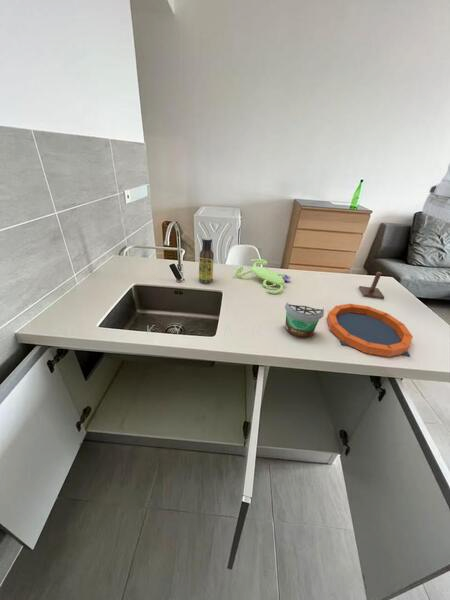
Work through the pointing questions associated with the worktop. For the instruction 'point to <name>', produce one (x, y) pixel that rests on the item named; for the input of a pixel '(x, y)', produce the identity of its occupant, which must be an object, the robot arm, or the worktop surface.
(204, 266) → the sauce bottle
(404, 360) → the worktop surface
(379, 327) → the mat
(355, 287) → the worktop surface
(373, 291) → the post
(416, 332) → the worktop surface
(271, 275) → the figurine
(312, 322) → the food container
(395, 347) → the ring
